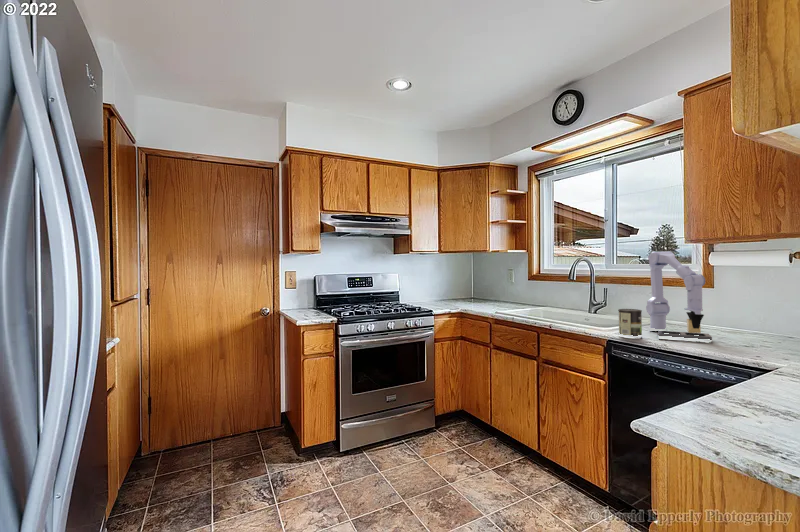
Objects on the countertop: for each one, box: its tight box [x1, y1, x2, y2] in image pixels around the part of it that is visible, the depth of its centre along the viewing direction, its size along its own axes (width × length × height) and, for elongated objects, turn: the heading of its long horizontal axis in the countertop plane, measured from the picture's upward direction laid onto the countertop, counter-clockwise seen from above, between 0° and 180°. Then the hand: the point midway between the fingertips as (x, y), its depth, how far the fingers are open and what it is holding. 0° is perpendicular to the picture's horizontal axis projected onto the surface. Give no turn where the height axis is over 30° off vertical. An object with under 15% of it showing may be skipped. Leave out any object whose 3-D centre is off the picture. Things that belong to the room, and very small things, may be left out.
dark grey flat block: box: [657, 330, 713, 341], centre depth 189 cm, size 10×20×3 cm, turn 59°
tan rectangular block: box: [686, 318, 702, 333], centre depth 186 cm, size 4×4×6 cm
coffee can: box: [618, 308, 643, 336], centre depth 196 cm, size 10×10×14 cm
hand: (695, 327), depth 186 cm, fingers closed on tan rectangular block, 4 cm apart
